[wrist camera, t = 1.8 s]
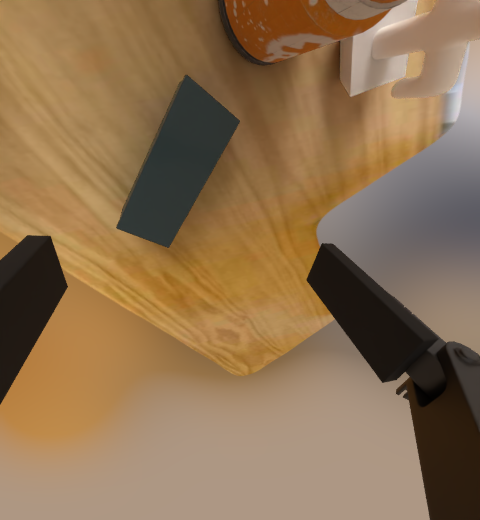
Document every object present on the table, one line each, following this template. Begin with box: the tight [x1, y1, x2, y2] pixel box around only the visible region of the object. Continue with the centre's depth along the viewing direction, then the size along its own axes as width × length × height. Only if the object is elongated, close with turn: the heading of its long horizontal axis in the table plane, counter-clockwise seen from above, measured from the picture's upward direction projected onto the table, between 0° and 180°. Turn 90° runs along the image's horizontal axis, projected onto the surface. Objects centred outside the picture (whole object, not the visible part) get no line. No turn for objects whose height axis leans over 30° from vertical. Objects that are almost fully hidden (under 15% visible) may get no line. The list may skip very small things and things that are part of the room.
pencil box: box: [116, 75, 240, 248], centre depth 24 cm, size 15×6×5 cm, turn 145°
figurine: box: [340, 0, 480, 99], centre depth 20 cm, size 7×9×15 cm
